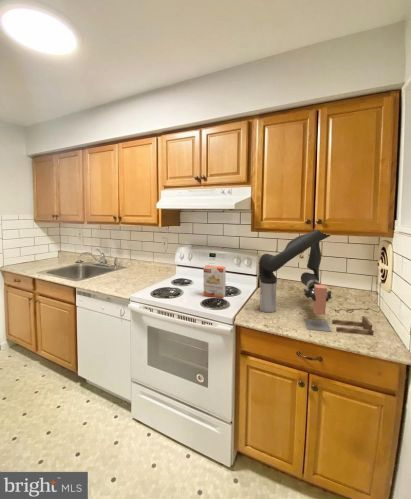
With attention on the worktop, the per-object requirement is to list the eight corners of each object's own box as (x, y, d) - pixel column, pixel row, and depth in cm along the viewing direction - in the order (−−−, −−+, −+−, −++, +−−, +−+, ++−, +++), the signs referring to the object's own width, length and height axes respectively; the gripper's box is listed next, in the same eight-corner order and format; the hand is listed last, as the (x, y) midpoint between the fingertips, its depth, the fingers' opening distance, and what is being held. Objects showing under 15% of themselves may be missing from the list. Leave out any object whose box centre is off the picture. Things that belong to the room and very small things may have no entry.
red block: (314, 314, 129) (316, 287, 126) (312, 309, 134) (314, 284, 131) (325, 314, 128) (327, 288, 125) (323, 310, 133) (324, 284, 130)
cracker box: (203, 296, 174) (203, 266, 170) (206, 293, 179) (206, 264, 175) (223, 299, 169) (223, 268, 165) (225, 295, 174) (225, 266, 170)
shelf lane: (336, 331, 126) (337, 322, 125) (331, 322, 135) (332, 313, 134) (373, 335, 122) (374, 325, 121) (365, 325, 131) (366, 316, 130)
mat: (307, 329, 128) (307, 328, 128) (304, 319, 138) (304, 319, 138) (331, 331, 125) (331, 331, 125) (326, 321, 136) (326, 320, 136)
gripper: (301, 280, 144) (305, 291, 127) (329, 282, 140) (337, 293, 124) (300, 293, 145) (305, 305, 129) (328, 295, 142) (336, 307, 126)
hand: (320, 299), depth 127 cm, fingers closed on red block, 5 cm apart
